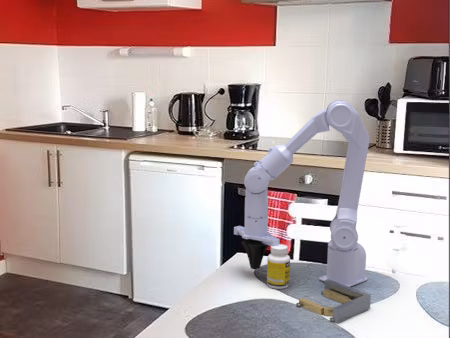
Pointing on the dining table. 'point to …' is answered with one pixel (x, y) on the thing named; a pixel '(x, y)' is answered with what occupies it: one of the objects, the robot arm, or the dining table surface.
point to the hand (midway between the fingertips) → (255, 268)
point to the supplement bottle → (278, 267)
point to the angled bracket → (348, 296)
